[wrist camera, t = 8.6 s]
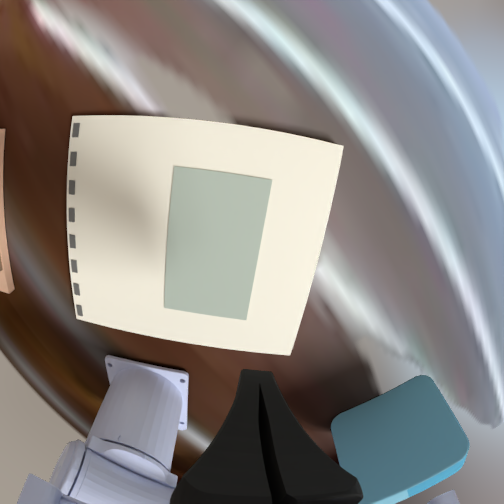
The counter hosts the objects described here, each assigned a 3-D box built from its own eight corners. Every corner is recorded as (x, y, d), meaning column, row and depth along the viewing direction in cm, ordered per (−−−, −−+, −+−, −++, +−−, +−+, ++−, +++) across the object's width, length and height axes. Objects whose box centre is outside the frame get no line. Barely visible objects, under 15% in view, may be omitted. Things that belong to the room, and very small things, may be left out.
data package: (338, 433, 29) (359, 517, 17) (327, 417, 27) (350, 511, 16) (428, 390, 27) (469, 464, 16) (426, 369, 25) (475, 450, 14)
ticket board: (288, 347, 23) (290, 356, 22) (81, 312, 22) (76, 319, 21) (338, 145, 18) (344, 146, 17) (79, 116, 16) (71, 115, 15)
